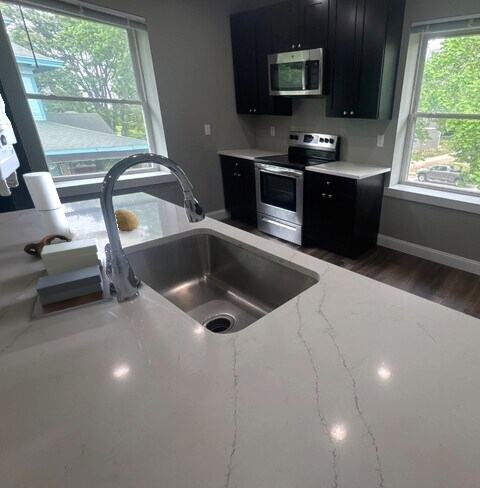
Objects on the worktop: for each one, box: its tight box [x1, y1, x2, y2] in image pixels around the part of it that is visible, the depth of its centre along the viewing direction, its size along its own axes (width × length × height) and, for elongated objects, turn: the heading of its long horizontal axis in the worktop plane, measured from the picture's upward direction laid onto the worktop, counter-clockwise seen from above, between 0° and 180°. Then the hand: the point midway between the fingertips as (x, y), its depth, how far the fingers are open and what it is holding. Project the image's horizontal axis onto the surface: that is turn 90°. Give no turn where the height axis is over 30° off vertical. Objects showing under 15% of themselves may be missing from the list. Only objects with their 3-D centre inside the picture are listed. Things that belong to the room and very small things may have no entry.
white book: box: [40, 237, 99, 262], centre depth 92 cm, size 13×6×2 cm, turn 124°
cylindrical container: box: [22, 171, 73, 244], centre depth 109 cm, size 7×7×25 cm
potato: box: [114, 208, 140, 232], centre depth 123 cm, size 10×14×8 cm
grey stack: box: [36, 265, 103, 305], centre depth 81 cm, size 13×7×5 cm, turn 124°
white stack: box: [41, 245, 103, 276], centre depth 93 cm, size 13×7×5 cm, turn 124°
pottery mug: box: [23, 235, 72, 257], centre depth 101 cm, size 12×10×8 cm
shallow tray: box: [30, 251, 111, 319], centre depth 88 cm, size 16×32×2 cm, turn 34°
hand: (10, 190), depth 79 cm, fingers open, 8 cm apart
